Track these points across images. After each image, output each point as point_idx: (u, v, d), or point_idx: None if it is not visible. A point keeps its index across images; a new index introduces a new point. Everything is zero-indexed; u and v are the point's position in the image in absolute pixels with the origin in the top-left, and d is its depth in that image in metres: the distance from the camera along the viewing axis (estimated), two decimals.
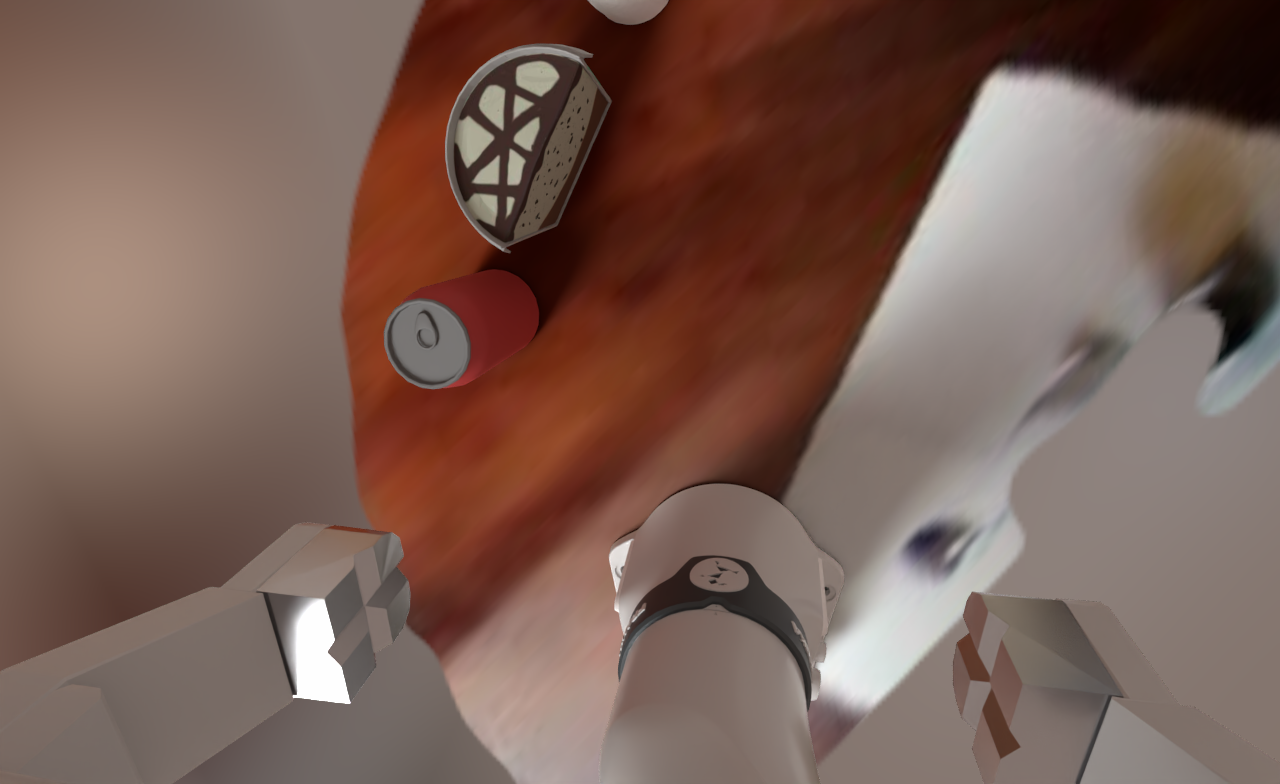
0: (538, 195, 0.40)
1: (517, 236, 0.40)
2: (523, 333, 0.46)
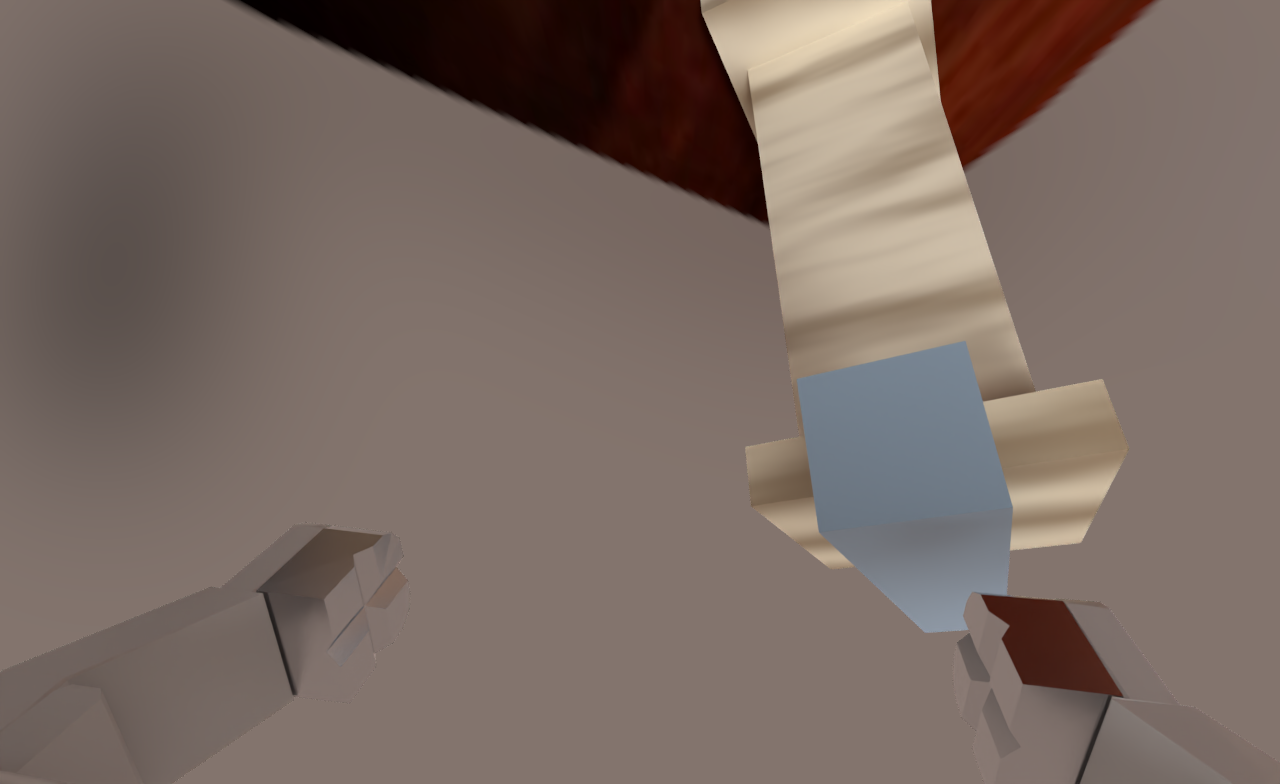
0: None
1: None
2: None
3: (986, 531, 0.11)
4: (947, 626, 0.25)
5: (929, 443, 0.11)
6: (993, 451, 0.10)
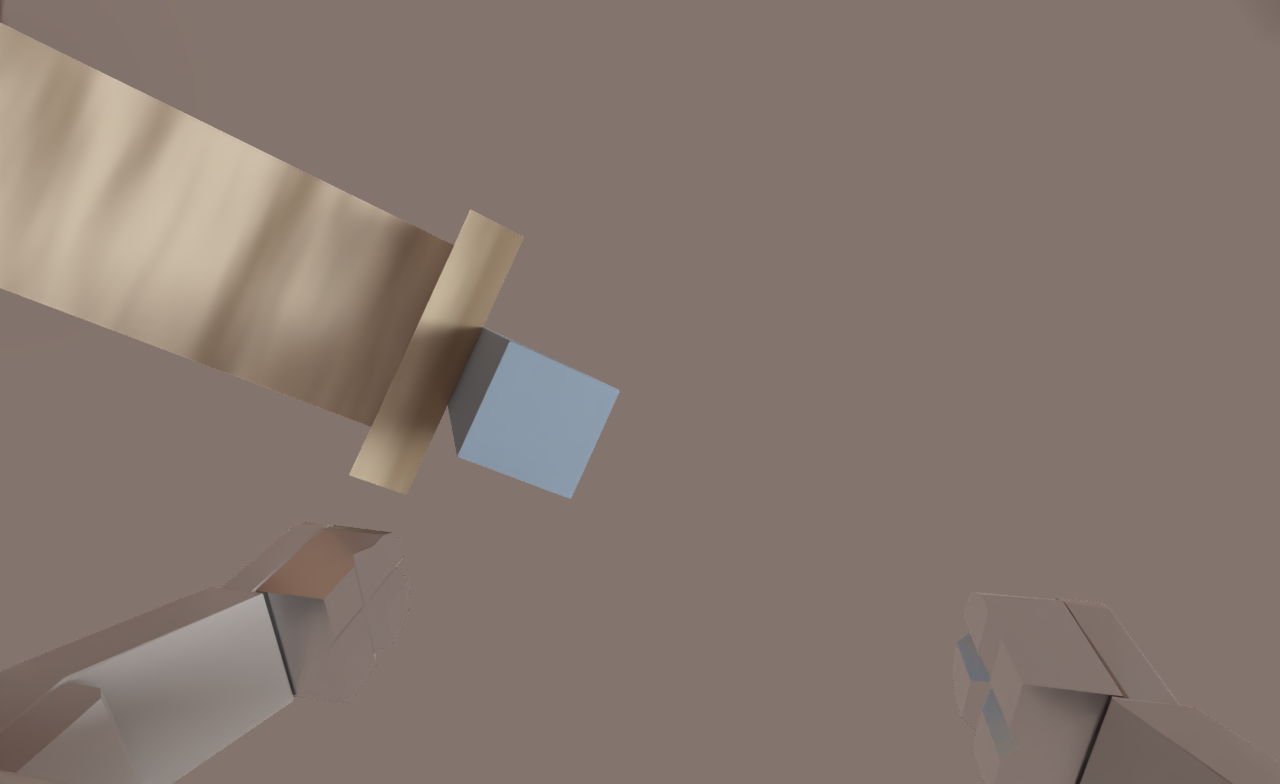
0: None
1: None
2: None
3: None
4: None
5: (560, 405, 0.16)
6: (586, 377, 0.16)
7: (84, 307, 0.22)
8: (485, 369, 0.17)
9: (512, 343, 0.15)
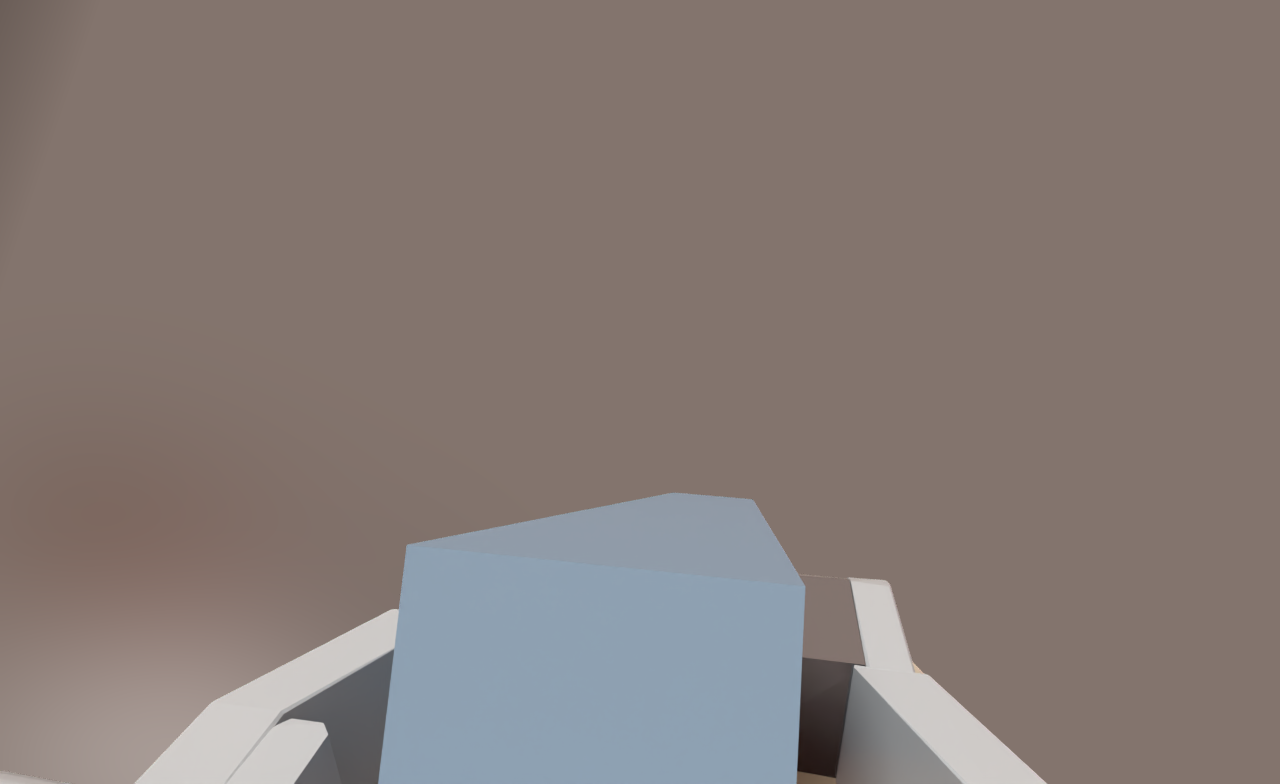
0: None
1: None
2: None
3: (523, 533, 0.06)
4: (724, 498, 0.22)
5: (507, 732, 0.05)
6: (397, 671, 0.05)
7: None
8: None
9: None
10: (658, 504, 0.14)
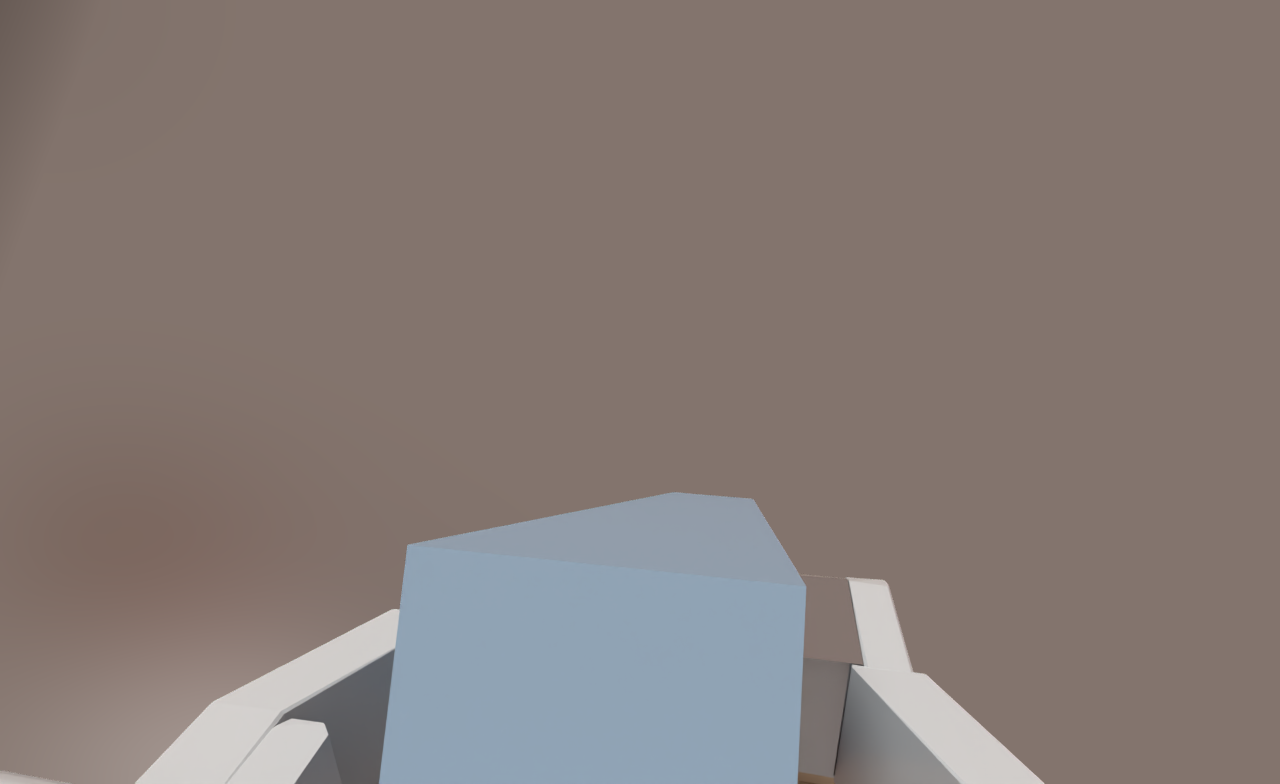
0: None
1: None
2: None
3: (524, 532, 0.06)
4: (725, 498, 0.22)
5: (507, 733, 0.05)
6: (398, 671, 0.05)
7: None
8: None
9: None
10: (658, 504, 0.14)
